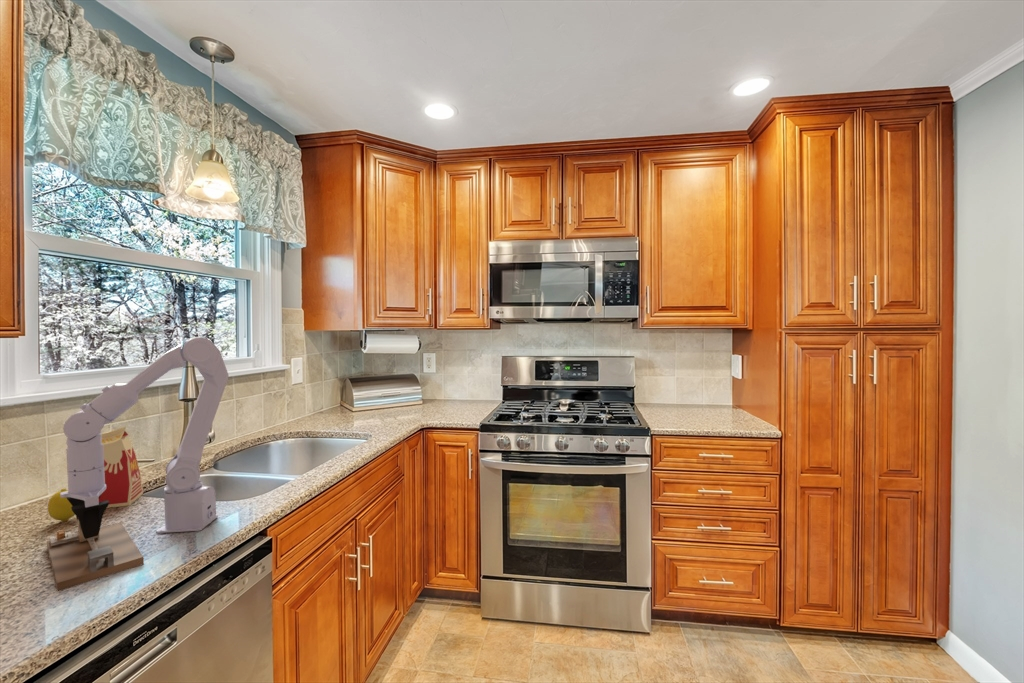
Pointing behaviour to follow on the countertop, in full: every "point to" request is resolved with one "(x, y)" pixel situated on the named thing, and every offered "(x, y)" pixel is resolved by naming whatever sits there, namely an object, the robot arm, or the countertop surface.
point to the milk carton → (120, 469)
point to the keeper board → (78, 557)
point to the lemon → (60, 507)
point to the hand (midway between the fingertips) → (88, 531)
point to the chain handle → (75, 538)
